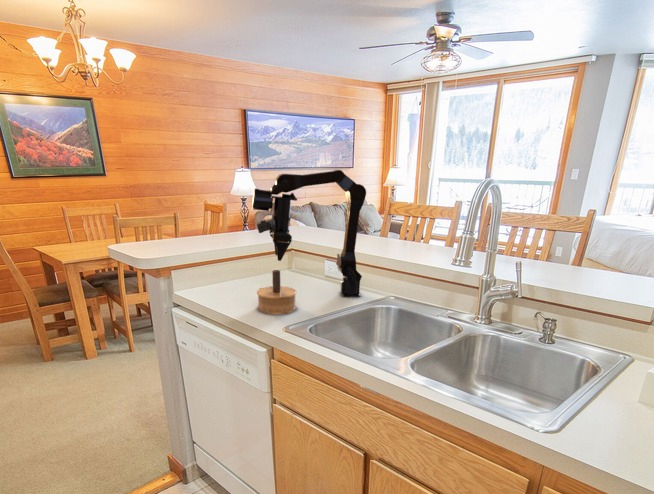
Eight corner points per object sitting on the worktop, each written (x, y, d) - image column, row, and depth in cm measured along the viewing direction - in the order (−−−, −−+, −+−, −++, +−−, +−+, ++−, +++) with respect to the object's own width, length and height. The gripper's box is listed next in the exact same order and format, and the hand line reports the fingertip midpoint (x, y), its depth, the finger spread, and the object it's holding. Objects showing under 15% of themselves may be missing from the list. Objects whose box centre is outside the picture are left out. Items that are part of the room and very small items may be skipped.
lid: (283, 287, 157) (282, 264, 153) (304, 296, 147) (304, 272, 144) (249, 292, 149) (248, 269, 146) (269, 302, 140) (268, 277, 136)
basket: (282, 300, 158) (282, 286, 156) (302, 310, 149) (302, 294, 147) (252, 306, 151) (251, 291, 149) (270, 316, 142) (270, 300, 140)
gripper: (257, 207, 158) (254, 250, 164) (260, 213, 141) (256, 261, 147) (287, 210, 160) (283, 253, 166) (294, 217, 143) (289, 264, 150)
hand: (278, 257), depth 157 cm, fingers open, 9 cm apart
